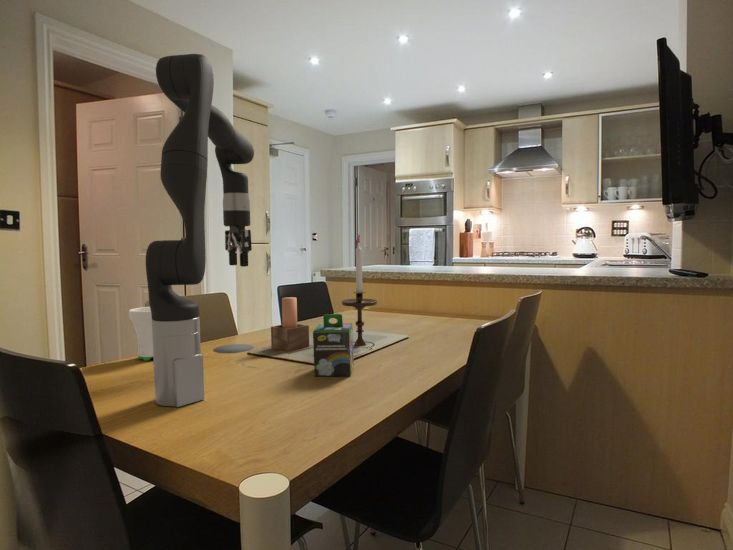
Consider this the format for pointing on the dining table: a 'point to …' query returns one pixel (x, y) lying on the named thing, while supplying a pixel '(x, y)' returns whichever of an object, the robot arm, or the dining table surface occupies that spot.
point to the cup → (143, 331)
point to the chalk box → (333, 347)
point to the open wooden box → (289, 339)
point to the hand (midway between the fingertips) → (238, 265)
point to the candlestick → (359, 298)
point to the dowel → (289, 312)
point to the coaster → (233, 348)
